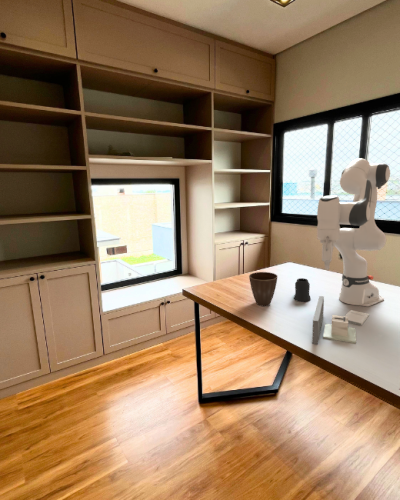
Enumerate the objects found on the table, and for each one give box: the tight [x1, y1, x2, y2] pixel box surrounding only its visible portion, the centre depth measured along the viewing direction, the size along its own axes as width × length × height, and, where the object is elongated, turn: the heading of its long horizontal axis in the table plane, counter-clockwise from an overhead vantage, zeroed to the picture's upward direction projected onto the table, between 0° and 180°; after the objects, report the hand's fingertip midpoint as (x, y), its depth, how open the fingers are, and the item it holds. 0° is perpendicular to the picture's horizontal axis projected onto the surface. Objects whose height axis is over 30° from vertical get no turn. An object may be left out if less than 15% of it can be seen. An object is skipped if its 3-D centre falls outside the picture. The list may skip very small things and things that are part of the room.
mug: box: [293, 277, 312, 303], centre depth 162 cm, size 12×9×11 cm
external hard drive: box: [344, 309, 370, 327], centre depth 135 cm, size 2×8×12 cm
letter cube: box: [331, 314, 349, 336], centre depth 122 cm, size 6×6×6 cm
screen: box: [311, 295, 325, 345], centre depth 127 cm, size 28×2×10 cm, turn 153°
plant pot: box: [248, 271, 278, 307], centre depth 157 cm, size 15×15×16 cm
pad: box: [322, 323, 357, 344], centre depth 122 cm, size 12×12×1 cm
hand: (327, 266), depth 126 cm, fingers open, 8 cm apart
